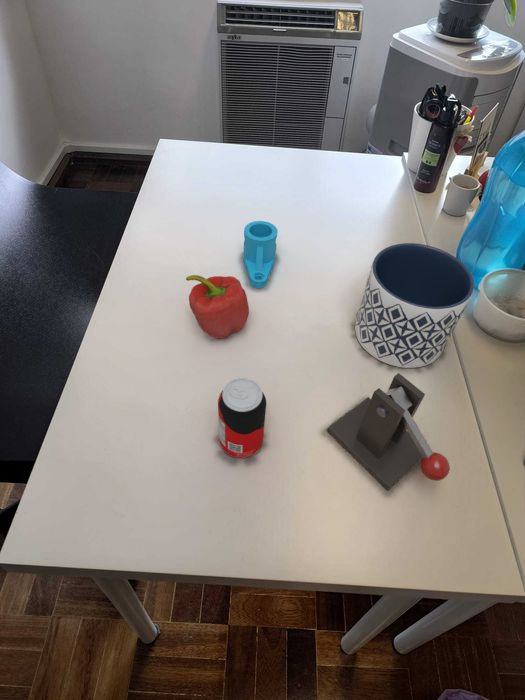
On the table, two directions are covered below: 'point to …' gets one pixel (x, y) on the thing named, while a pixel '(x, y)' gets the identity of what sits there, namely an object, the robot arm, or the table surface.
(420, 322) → the planter
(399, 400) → the tap lever
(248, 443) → the beverage can
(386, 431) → the grey lever stand
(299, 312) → the table surface
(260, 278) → the bracket
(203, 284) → the vegetable
